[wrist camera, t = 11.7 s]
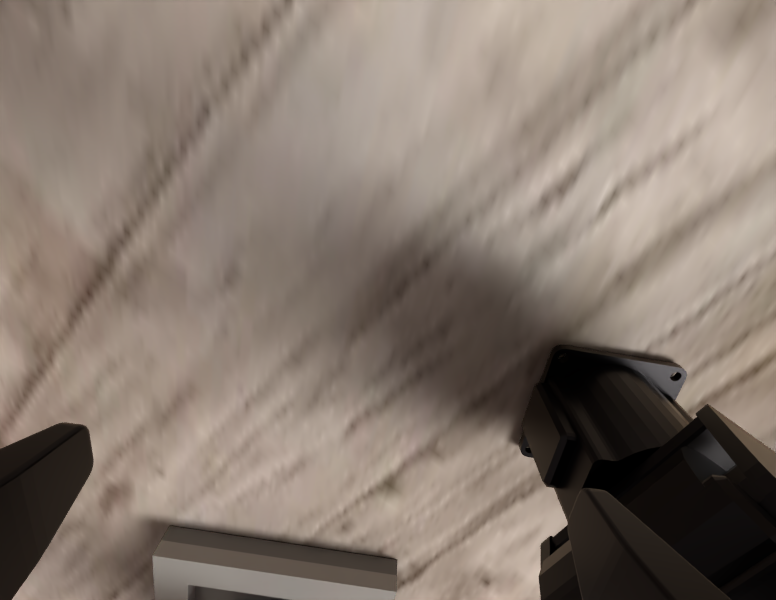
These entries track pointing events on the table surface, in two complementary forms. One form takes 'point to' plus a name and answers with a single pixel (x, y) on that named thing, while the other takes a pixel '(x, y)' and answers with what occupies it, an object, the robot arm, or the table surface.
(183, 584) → the tray
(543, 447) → the robot arm
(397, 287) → the table surface
